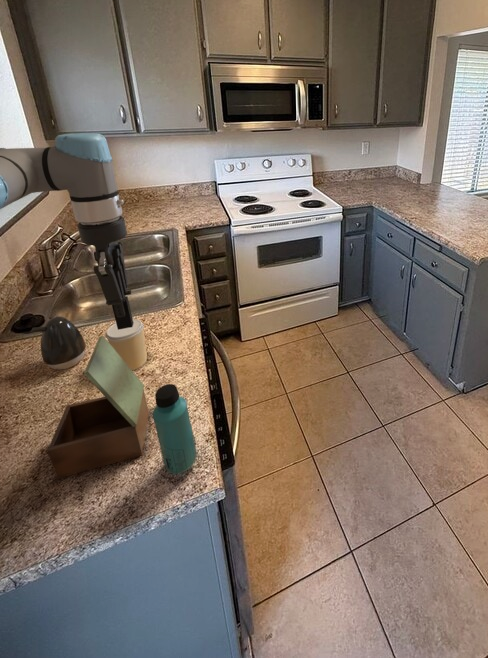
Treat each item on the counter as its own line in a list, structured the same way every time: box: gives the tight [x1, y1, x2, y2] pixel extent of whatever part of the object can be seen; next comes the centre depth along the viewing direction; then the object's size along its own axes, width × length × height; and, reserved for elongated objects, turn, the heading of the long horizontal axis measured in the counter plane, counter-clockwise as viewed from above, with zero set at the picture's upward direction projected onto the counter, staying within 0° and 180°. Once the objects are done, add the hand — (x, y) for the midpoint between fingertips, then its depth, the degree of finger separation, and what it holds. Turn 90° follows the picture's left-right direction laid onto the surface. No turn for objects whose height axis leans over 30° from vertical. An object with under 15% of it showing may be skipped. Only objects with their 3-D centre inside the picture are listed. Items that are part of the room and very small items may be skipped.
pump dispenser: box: [31, 316, 87, 370], centre depth 101 cm, size 10×10×15 cm
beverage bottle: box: [152, 383, 198, 475], centre depth 71 cm, size 6×7×20 cm
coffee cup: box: [105, 318, 148, 371], centre depth 102 cm, size 9×9×12 cm
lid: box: [83, 335, 145, 427], centre depth 76 cm, size 17×12×1 cm
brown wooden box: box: [46, 390, 150, 479], centre depth 78 cm, size 16×12×8 cm
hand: (125, 326), depth 74 cm, fingers closed
